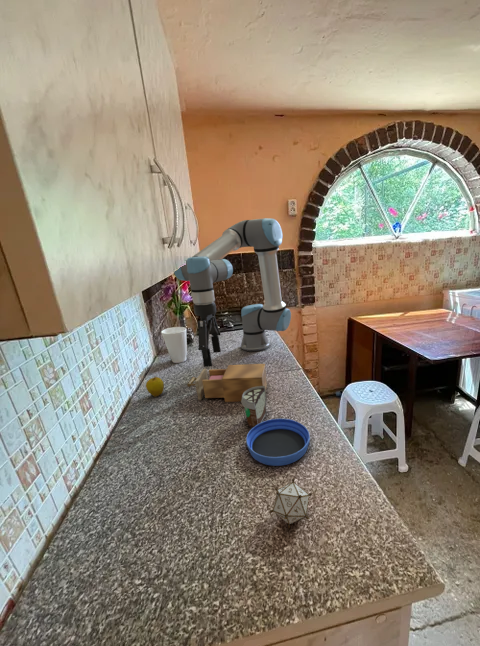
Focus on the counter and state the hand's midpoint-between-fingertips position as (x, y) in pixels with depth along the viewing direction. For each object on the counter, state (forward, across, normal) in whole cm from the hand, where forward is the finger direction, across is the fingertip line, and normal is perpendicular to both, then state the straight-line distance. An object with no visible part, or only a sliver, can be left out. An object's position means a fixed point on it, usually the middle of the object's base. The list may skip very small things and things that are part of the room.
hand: (212, 358), depth 116 cm
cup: (+15, -38, -29) cm, 50 cm away
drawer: (+14, 0, -1) cm, 14 cm away
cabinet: (+15, 0, +11) cm, 19 cm away
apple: (+15, -1, -25) cm, 29 cm away
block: (+13, 0, 0) cm, 13 cm away
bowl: (+15, +34, +25) cm, 45 cm away
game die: (+14, +58, +29) cm, 66 cm away
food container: (+15, +20, +16) cm, 29 cm away
